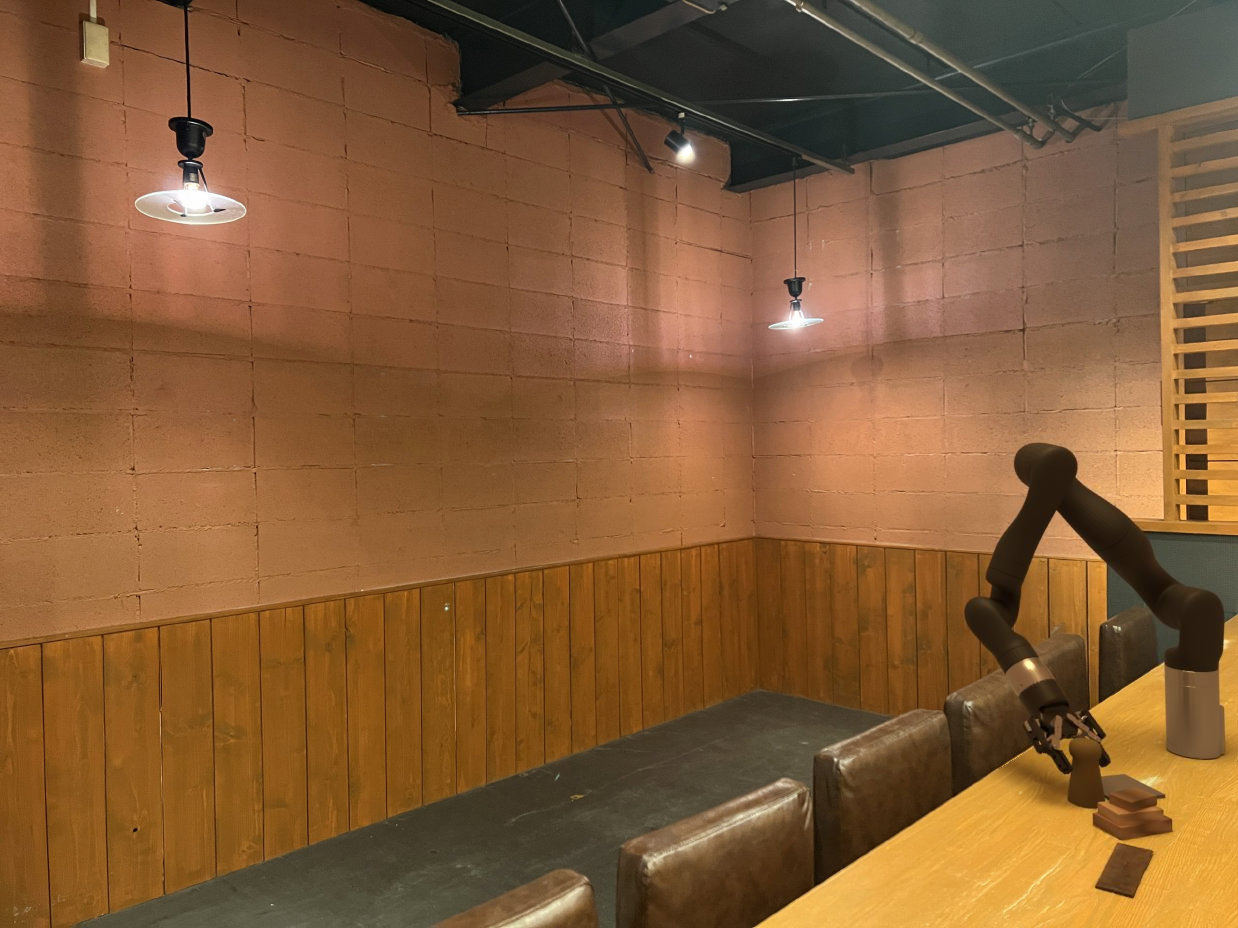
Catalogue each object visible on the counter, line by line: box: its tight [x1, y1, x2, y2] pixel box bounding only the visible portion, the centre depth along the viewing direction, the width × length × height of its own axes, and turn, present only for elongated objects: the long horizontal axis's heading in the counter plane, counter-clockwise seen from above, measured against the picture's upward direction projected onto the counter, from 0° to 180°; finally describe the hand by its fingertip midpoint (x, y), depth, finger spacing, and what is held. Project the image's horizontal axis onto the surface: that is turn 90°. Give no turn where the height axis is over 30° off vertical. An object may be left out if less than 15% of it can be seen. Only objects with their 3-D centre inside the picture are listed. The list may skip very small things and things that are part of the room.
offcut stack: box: [1091, 787, 1173, 841], centre depth 145 cm, size 10×6×5 cm, turn 104°
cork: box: [1067, 737, 1106, 810], centre depth 156 cm, size 6×6×11 cm
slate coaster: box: [1101, 773, 1166, 801], centre depth 161 cm, size 10×10×1 cm
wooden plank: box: [1094, 842, 1154, 899], centre depth 132 cm, size 17×1×5 cm
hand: (1088, 768), depth 155 cm, fingers open, 8 cm apart
